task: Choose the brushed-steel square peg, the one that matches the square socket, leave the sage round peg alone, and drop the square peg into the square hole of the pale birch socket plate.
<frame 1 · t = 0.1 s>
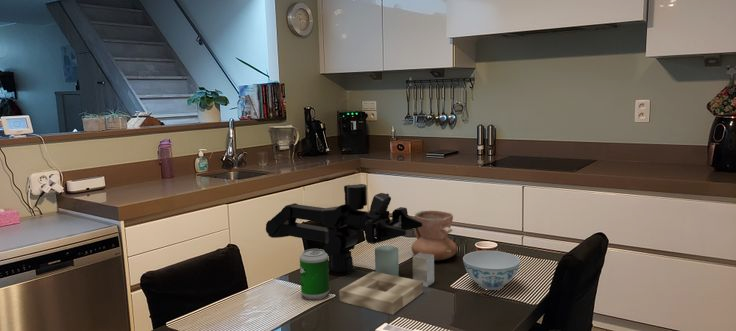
hand: (414, 228, 141), 17 cm above the table, tool horizontal, fingers open, 9 cm apart
round peg: (387, 275, 153), on the table
soda can: (315, 296, 140), on the table
square peg: (423, 283, 146), on the table
socket plate: (382, 296, 138), on the table
ceramic jug: (433, 257, 169), on the table
chinaware: (490, 286, 143), on the table
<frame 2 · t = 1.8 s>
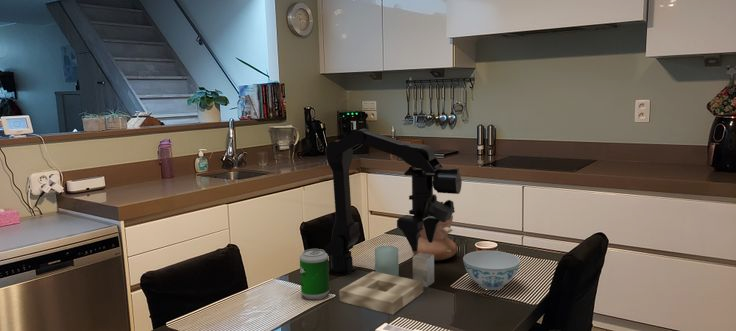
hand: (422, 246, 145), 10 cm above the table, tool pointing down, fingers open, 9 cm apart
nothing on the table moved.
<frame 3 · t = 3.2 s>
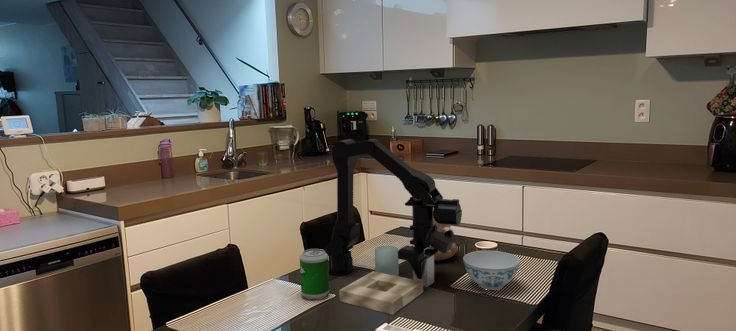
hand: (423, 276, 146), 2 cm above the table, tool pointing down, fingers closed on square peg, 4 cm apart
square peg: (423, 282, 146), on the table, touching gripper
everything else where it was.
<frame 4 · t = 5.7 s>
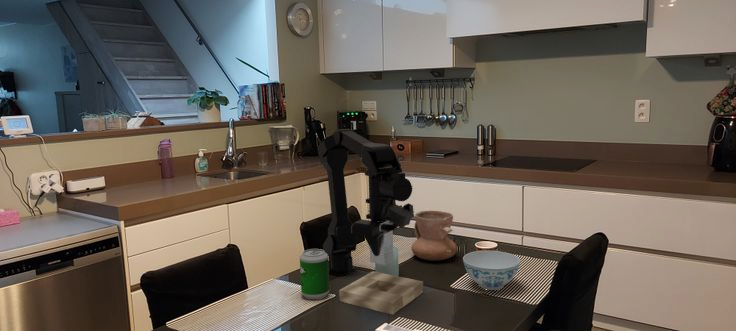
hand: (381, 253, 136), 12 cm above the table, tool pointing down, fingers closed on square peg, 4 cm apart
square peg: (381, 260, 136), point 10 cm above the table, touching gripper
everything else where it was.
when the fingers open (4 cm above the table, at t = 8.5 s): square peg drops 2 cm, resting in socket plate.
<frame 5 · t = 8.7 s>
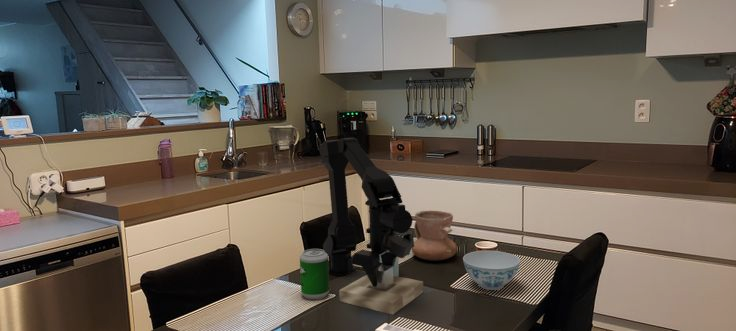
hand: (381, 282, 137), 4 cm above the table, tool pointing down, fingers open, 6 cm apart
square peg: (382, 296, 138), resting in socket plate
everything else where it was.
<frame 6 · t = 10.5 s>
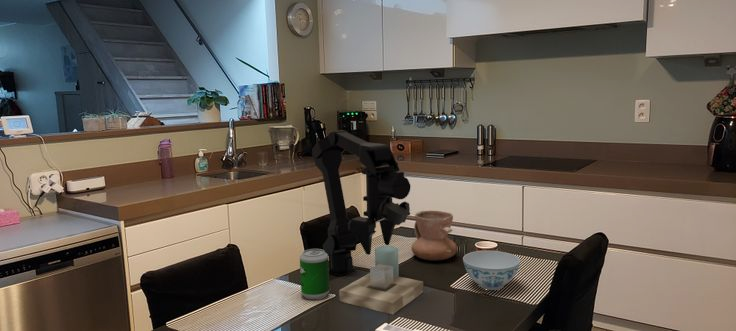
hand: (377, 249, 140), 12 cm above the table, tool pointing down, fingers open, 9 cm apart
nothing on the table moved.
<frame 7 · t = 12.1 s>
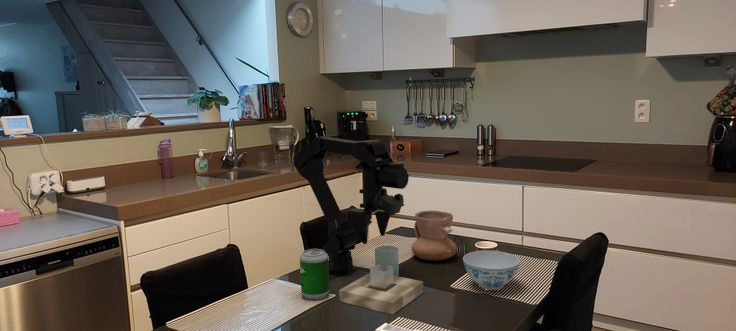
hand: (374, 239, 147), 12 cm above the table, tool pointing down, fingers open, 9 cm apart
nothing on the table moved.
at the end: square peg 0.1 cm off-centre on the socket plate, point 0.0 cm above the socket plate's base; square peg tilted 0°; round peg moved 0.1 cm from its start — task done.
